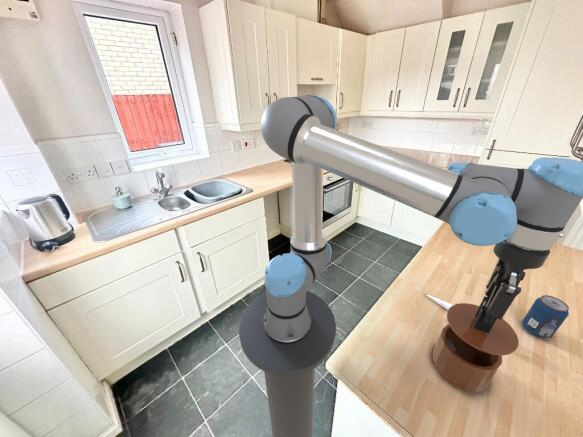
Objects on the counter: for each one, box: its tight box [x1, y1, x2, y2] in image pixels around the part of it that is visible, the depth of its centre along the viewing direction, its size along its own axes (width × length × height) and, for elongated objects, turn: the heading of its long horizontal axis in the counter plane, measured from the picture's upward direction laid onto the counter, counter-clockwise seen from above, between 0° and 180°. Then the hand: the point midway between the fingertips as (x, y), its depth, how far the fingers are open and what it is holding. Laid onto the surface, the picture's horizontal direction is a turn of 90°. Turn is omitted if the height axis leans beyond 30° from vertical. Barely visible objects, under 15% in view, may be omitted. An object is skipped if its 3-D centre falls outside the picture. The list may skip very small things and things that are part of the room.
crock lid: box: [446, 299, 519, 356], centre depth 56 cm, size 14×14×9 cm
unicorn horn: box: [426, 294, 454, 311], centre depth 78 cm, size 5×24×5 cm, turn 32°
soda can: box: [521, 294, 570, 340], centre depth 71 cm, size 7×7×12 cm
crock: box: [432, 323, 503, 393], centre depth 63 cm, size 13×13×10 cm
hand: (481, 324), depth 57 cm, fingers closed on crock lid, 3 cm apart
